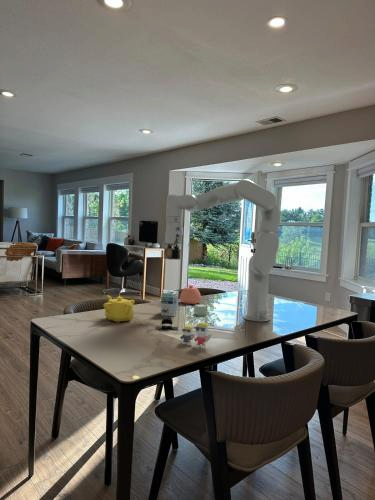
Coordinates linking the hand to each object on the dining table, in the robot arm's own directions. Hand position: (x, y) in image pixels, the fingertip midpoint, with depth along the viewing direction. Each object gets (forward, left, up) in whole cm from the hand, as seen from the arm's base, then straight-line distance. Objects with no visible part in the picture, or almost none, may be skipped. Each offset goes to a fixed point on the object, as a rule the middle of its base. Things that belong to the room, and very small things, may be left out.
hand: (172, 257), depth 174 cm
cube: (-6, -14, -28) cm, 32 cm away
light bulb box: (0, 0, -28) cm, 28 cm away
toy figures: (-47, +12, -28) cm, 56 cm away
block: (0, 0, -1) cm, 1 cm away
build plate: (-24, +13, -28) cm, 39 cm away
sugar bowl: (+21, -23, -28) cm, 42 cm away
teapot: (-4, +27, -28) cm, 39 cm away
